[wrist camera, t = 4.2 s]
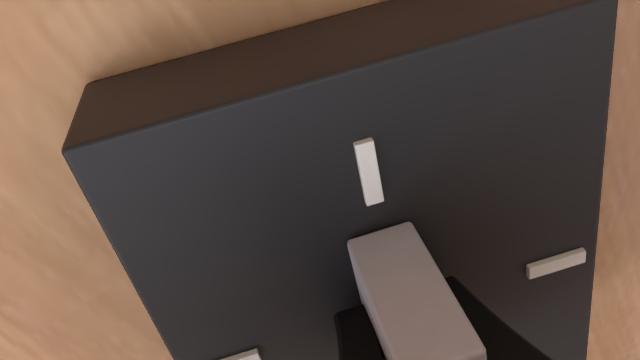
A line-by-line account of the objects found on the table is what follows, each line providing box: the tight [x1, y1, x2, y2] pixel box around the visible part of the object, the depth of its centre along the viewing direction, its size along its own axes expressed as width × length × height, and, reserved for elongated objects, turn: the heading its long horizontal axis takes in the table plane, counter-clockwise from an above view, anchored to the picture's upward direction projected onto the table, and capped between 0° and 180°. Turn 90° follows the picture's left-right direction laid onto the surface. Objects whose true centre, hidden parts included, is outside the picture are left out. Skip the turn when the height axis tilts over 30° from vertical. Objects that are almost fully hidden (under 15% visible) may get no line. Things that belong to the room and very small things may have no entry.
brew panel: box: [62, 0, 618, 360], centre depth 14 cm, size 12×10×3 cm
